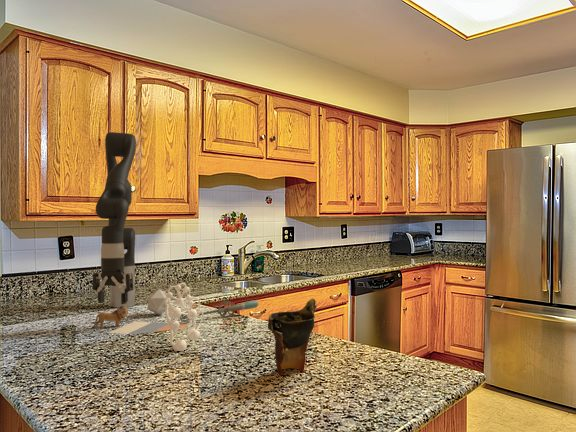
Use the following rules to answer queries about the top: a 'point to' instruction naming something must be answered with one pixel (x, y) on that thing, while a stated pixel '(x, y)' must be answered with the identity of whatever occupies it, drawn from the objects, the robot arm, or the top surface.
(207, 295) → the top surface
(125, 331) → the track board
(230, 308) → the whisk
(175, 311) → the molecule model
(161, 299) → the die
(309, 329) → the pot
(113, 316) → the lion figurine
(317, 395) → the top surface
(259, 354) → the top surface
